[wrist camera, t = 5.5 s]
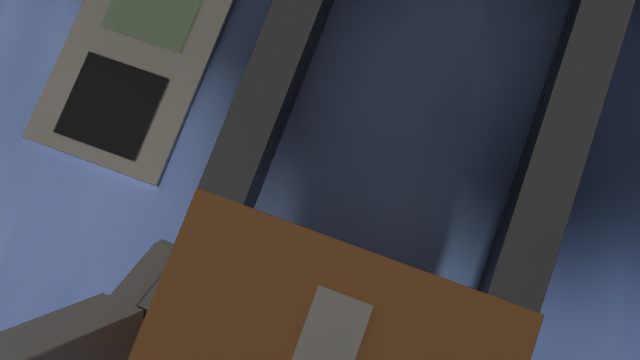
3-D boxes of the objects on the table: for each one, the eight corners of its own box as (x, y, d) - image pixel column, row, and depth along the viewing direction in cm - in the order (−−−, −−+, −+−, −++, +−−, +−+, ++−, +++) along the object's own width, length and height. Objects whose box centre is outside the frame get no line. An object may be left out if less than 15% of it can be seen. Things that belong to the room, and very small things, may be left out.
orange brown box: (396, 437, 16) (436, 677, 6) (245, 375, 17) (65, 504, 7) (442, 297, 17) (547, 315, 7) (295, 242, 17) (194, 187, 7)
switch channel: (426, 627, 17) (446, 732, 13) (-92, 397, 19) (-212, 426, 15) (658, -119, 20) (729, -217, 16) (196, -240, 22) (160, -353, 18)
